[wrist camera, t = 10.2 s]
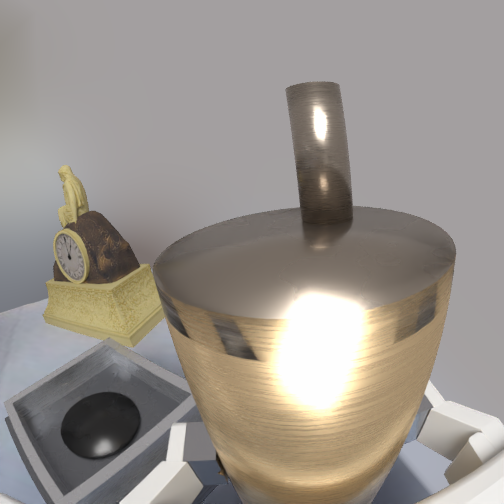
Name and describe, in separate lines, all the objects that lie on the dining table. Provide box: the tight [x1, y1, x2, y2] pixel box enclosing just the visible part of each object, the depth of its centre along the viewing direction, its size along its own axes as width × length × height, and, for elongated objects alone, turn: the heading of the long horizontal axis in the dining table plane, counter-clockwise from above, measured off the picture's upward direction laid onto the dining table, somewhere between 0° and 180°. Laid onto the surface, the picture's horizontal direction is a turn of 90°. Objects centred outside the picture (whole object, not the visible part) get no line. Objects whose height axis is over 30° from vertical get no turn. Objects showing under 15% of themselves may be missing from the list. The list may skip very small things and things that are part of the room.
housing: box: [4, 337, 217, 504], centre depth 19 cm, size 18×18×8 cm
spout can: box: [153, 82, 456, 504], centre depth 7 cm, size 6×6×16 cm
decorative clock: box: [43, 165, 165, 348], centre depth 46 cm, size 28×13×30 cm, turn 72°
